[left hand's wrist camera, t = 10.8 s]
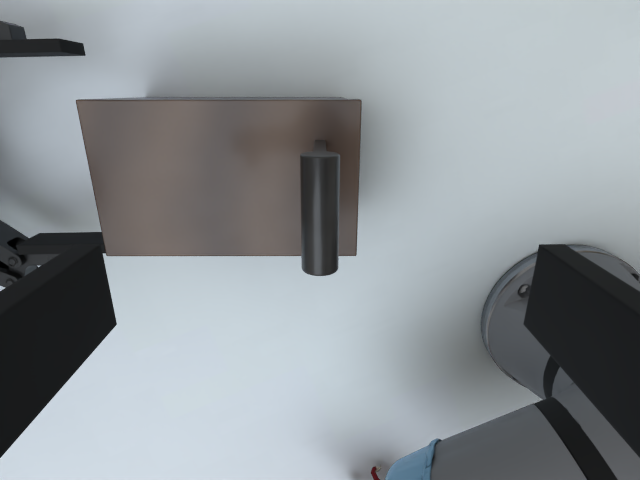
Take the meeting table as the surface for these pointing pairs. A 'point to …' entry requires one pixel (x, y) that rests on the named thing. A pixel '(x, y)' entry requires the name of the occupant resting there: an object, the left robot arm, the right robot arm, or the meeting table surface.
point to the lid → (226, 177)
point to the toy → (373, 472)
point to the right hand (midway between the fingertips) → (95, 152)
